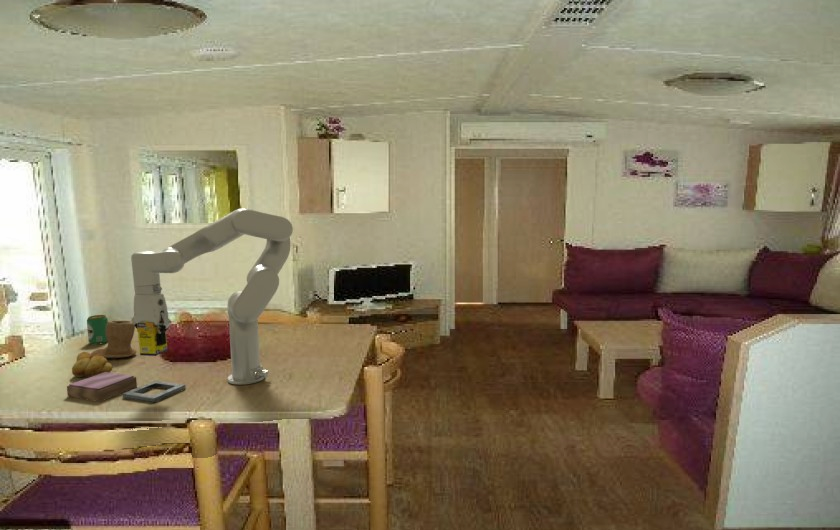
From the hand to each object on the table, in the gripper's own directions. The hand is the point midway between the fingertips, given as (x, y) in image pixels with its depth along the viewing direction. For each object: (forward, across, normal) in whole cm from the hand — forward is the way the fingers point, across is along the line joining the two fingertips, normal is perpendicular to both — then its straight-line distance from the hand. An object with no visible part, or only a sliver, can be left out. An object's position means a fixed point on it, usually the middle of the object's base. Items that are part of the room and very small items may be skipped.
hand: (153, 343), depth 169 cm
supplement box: (+3, 0, 0) cm, 3 cm away
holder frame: (+17, +1, +1) cm, 17 cm away
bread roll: (+17, +38, -7) cm, 42 cm away
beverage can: (+16, +77, -41) cm, 89 cm away
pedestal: (+16, +19, +5) cm, 25 cm away
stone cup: (+17, +50, -27) cm, 59 cm away
